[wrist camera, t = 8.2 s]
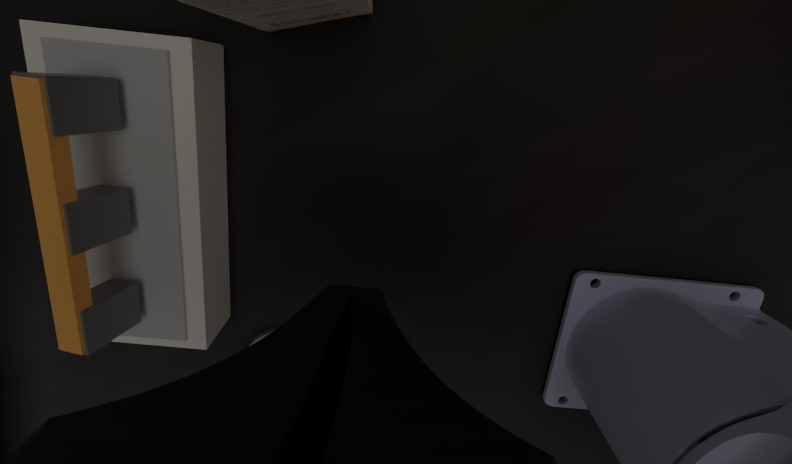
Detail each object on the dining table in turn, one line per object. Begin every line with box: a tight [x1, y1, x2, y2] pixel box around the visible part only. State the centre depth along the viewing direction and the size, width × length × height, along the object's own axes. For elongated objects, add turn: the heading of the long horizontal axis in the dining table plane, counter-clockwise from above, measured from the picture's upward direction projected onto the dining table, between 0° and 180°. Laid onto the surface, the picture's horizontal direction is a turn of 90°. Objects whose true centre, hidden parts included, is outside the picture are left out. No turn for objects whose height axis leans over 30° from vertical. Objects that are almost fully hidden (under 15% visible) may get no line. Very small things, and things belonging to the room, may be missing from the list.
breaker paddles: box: [10, 71, 142, 356], centre depth 16 cm, size 1×10×3 cm, turn 174°
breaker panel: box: [19, 19, 231, 350], centre depth 19 cm, size 6×13×3 cm, turn 174°
